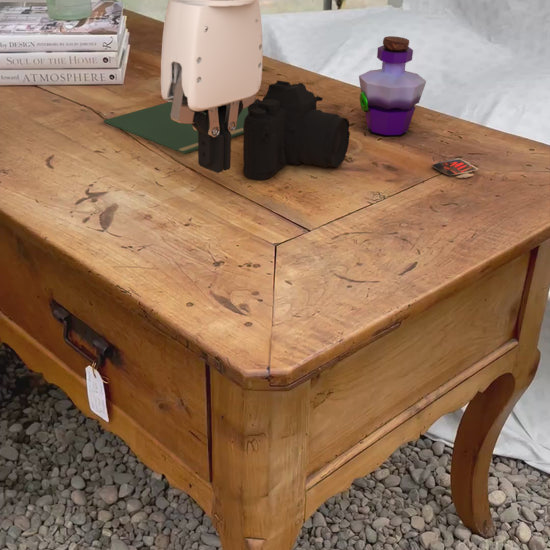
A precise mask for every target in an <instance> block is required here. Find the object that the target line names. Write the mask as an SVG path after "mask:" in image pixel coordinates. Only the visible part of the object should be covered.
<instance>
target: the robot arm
mask: <svg viewBox="0 0 550 550" xmlns="http://www.w3.org/2000/svg"><path fill="white" fill-rule="evenodd" d="M260 8H261V7H260V2H259V0H168V2H167V6H166V10H165V15H164V21H163V29H162V30H163V31H162V40H161V56H160V92H161V97H162V99H163V100H164V101H165V102H173V103H172V109H171V116H170V117H171V119H172V120H174V121H176V122H179V123H184V124H191V125H192V126H193V129H194V130H196V131H198V150H197V162H198V163H197V164H198V165H199V167H201V168H204V169H207V170H209V171H210V172H213V173H215V174H220V173H222V172H223V171H228V170H230V169H231V165H232V163H231V162H232V161H231V158H232V157H231V156H232V138H231V133H230V132H233V131H234V130H235V129H236V125H237V118H238V116H239V115H240V113H241V111H242V109H245V108H246V107H248V106H249V105H251V104H252V103H254V101H255V100H256V99H257V98H256V94H257V93H258V92H259V91H260V89H261V86H262V78H263V57H264V56H263V55H264V54H263V51H264V49H263V27H262V15H261V9H260ZM203 112H204V113H206V115H205V114H204V113H203Z"/></svg>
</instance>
